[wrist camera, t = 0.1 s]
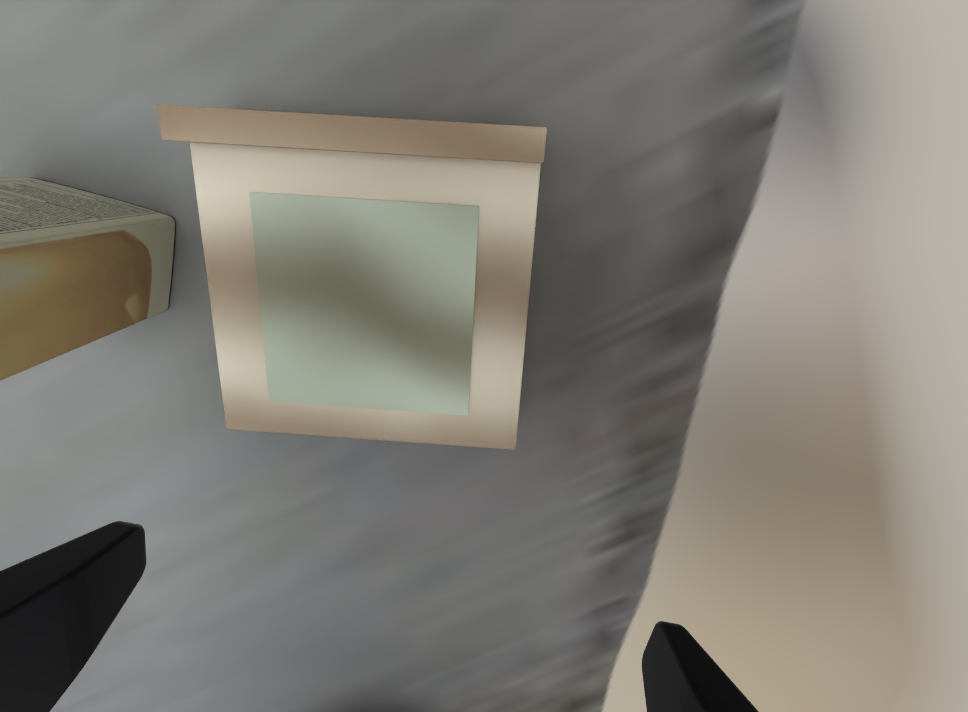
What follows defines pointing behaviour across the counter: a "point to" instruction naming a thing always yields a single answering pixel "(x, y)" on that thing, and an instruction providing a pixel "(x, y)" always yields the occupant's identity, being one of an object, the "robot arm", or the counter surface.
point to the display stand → (366, 270)
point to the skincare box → (75, 269)
